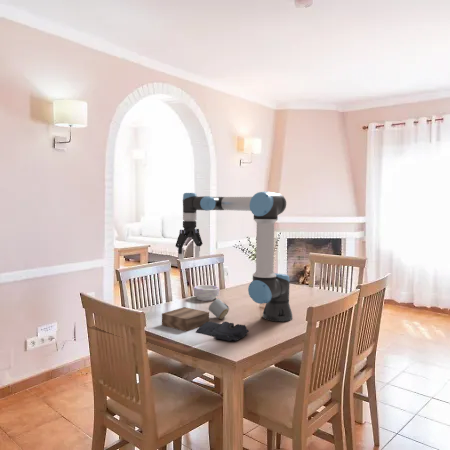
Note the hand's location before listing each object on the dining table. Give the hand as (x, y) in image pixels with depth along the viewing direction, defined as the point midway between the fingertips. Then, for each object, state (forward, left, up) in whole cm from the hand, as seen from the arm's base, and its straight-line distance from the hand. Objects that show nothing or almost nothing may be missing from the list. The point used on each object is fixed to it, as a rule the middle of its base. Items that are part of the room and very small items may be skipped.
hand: (189, 258), depth 235 cm
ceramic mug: (-27, +7, -28) cm, 39 cm away
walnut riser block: (-21, +27, -28) cm, 44 cm away
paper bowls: (+4, -20, -28) cm, 35 cm away
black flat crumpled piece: (-42, +26, -28) cm, 57 cm away
